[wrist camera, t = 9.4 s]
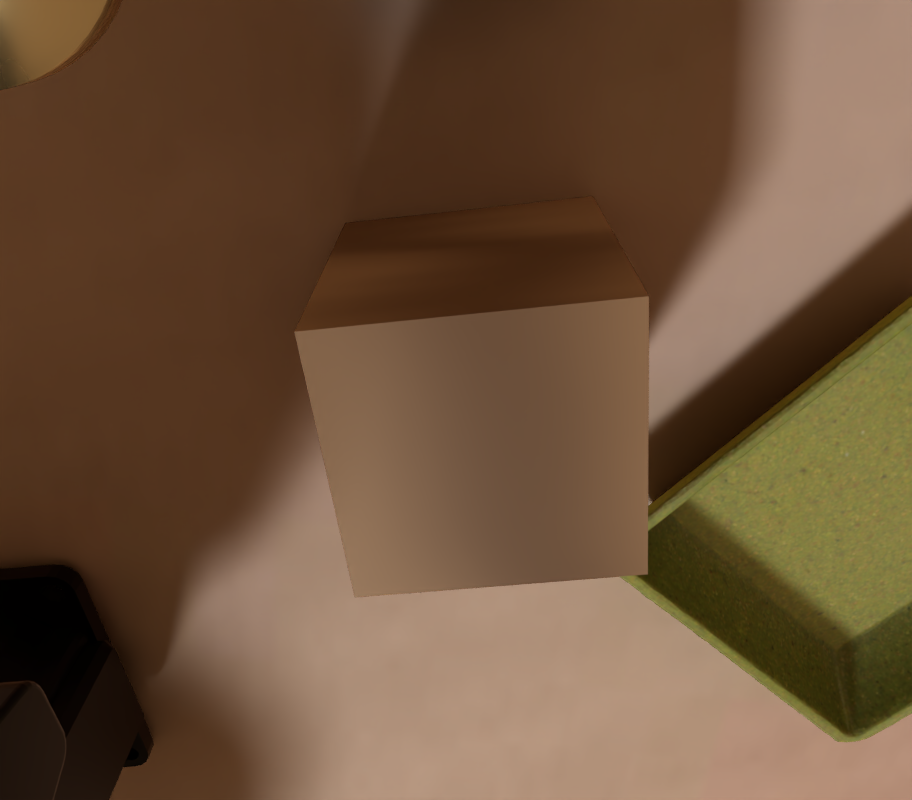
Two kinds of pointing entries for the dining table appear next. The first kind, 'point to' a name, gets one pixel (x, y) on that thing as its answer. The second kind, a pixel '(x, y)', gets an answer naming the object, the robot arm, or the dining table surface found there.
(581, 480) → the block
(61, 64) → the balance
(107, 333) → the dining table surface
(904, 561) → the green square dish
